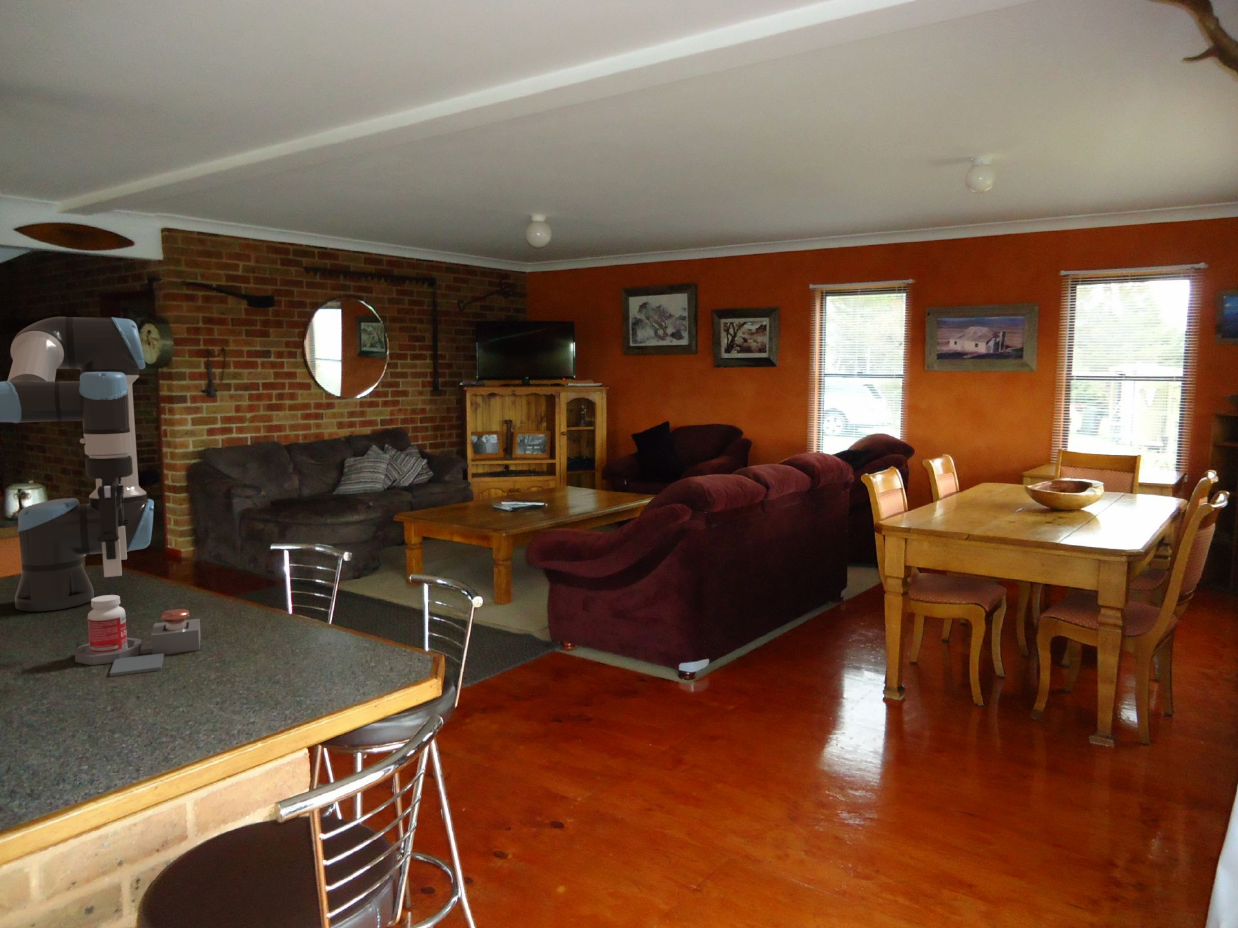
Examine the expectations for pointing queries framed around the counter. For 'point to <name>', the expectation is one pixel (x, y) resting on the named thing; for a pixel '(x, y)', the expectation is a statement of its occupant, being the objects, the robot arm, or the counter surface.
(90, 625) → the pill bottle
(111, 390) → the robot arm
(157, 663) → the mat
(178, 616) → the plunger
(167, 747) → the counter surface
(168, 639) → the housing
